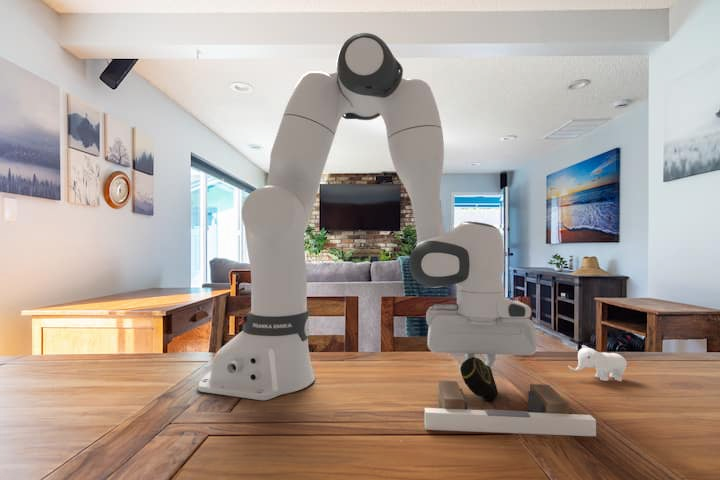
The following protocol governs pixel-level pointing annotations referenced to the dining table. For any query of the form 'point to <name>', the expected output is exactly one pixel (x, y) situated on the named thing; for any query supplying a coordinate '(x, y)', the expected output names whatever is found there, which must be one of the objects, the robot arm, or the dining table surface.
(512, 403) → the dining table surface
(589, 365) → the elephant figurine
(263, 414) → the dining table surface
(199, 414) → the dining table surface
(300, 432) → the dining table surface
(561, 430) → the rail
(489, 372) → the tape measure
